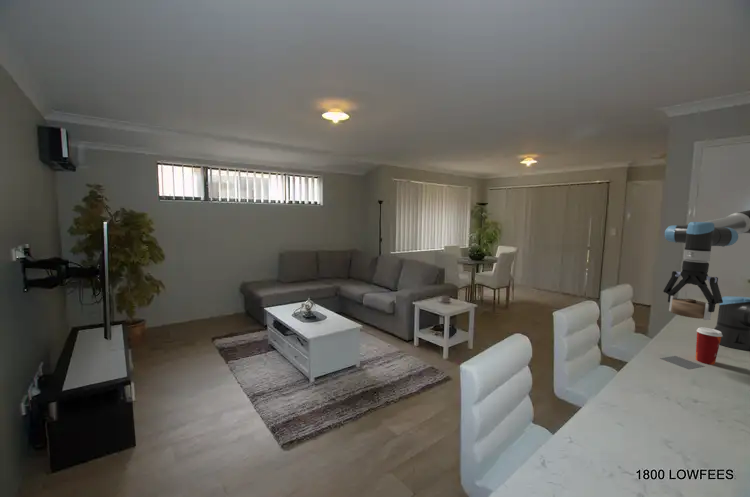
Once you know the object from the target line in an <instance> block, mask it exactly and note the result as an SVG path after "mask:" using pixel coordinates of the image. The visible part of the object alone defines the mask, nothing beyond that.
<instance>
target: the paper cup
mask: <svg viewBox="0 0 750 497" xmlns="http://www.w3.org/2000/svg"><path fill="white" fill-rule="evenodd" d="M695 331H696V343H695V344H696V345H695V360H696V361H697V362H699V363H702V364H706V365H716V360H717V356H718V352H719V349H720V340H721V337H722V336H723V335H722V333H721V332H720V331H718V330H715V329H714V328H709V327H704V326H703V327H702V326H700V327H698V328H697V329H696V330H695Z"/></svg>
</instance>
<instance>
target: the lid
mask: <svg viewBox="0 0 750 497" xmlns="http://www.w3.org/2000/svg"><path fill="white" fill-rule="evenodd" d="M706 303H707V302H704V301H699V300H697V299H693V298H677V299H672V307H671V311H670V312H671V313H672V314H675V315H677V316H680V317H686V318H691V319H700V320H701V319H704V312H705V305H706Z"/></svg>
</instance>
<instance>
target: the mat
mask: <svg viewBox="0 0 750 497" xmlns="http://www.w3.org/2000/svg"><path fill="white" fill-rule="evenodd" d="M659 359H660V360H663V361H665V362H668V363H671V364H673V365H676V366H679V367H681V368H684V369H686V370H692V369H698V368H704V367H705V366H704V365H702V364H700V363H697V362H694V361H691V360H689V359H686V358H682V357H680V356H677V355H672V356H667V357H660V358H659Z"/></svg>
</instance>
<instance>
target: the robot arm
mask: <svg viewBox="0 0 750 497" xmlns="http://www.w3.org/2000/svg"><path fill="white" fill-rule="evenodd" d="M742 234H750V210H749V209H747V210H742V211H738V212H734V213H731V214H729V215H727V216H725V217H720V218H715V219H709V220H706V221H690V222H689V223H688V224H683V225H679V224H676V225H673V224H671V225H669V226H667V228H666V229H665V230H664V238H665V240H666V241H668V242H669V243H670V242H672V243H675V244H676V243H677V244H679V243H680V244H685V246H684V252H683V258H682V259H683V261H682V266H681V270H682V271H679V270H677V271H676V270H674V271H671V277H670V279H669V280H668V282H667V283H666V285H665V286H664V289H663V291H662V292H663V293H665V294H667V295H668V297H667V303H669V307H668V311H669V312H671V307H672V299H678V295H676V294H677V293H678V292H679V291H680V290H681V289H682V288H683V287H685V286H686V285H694V286H697V287H698V288H699V289H700V291H701V292H702V294H703V296H704V297H705V299H706V301H707V302H705V303H706V305H705V312H704V319H703V321H709V320H711V318H712V313H714V312H715V309H716V305H718V306H719V307H718V313H717V321H716V325H715V327H714V328H713V329H715V330H718V331H720V332H721V333H722V335H723V336H722V337H721V340H720V345H721V346H724V347H727V348H732V349H736V350H744V351H750V297H749V296H748V297H747V296H737V295H735V296H734V295H732V296H731V295H730V296H729V295H726V296H722V293H721V291H720V290H721V289H720V287H719V285H718V282H719V277H717V276H710V275H709V274H708V273H709V267H710V263H709V262H710V261H711V254H712V253H711V251H712V247H723V248H725V247H728V246H729V247H731V246H732V245H734V244H736V243H737V241H738V240H739V235H742ZM679 277H681V278H682V279H680V280H679V282H678V283H677V281H678V279H679ZM706 281H708V282H709V286H710V288H709V287H708V284H707V283H706ZM676 283H677V284H676ZM675 284H676V285H675ZM710 290H711V291H710ZM720 345H719V346H720Z"/></svg>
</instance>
